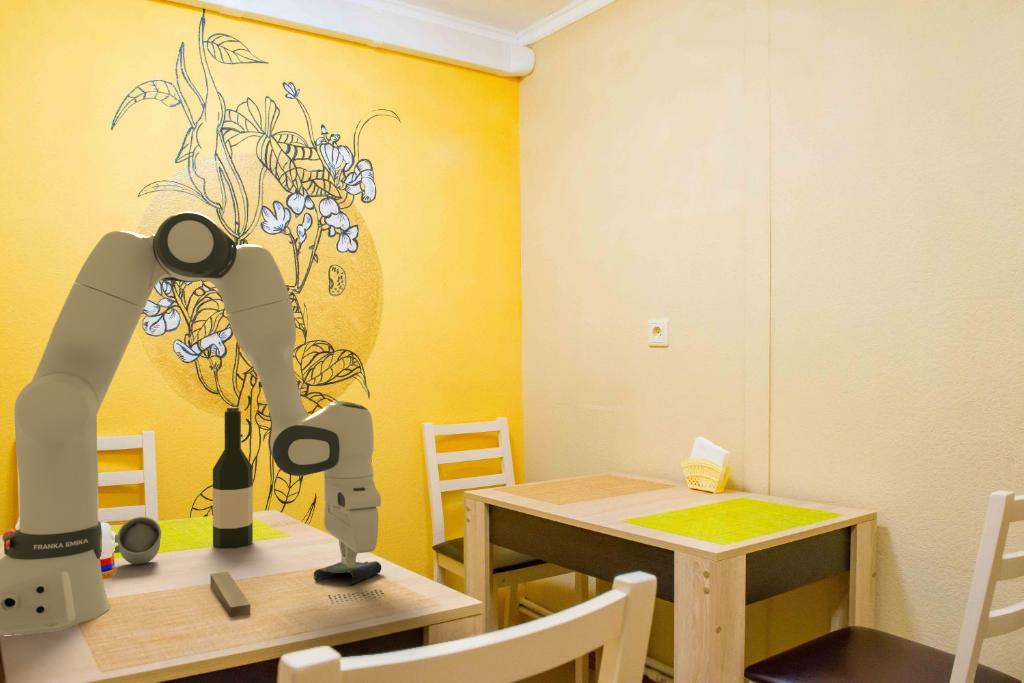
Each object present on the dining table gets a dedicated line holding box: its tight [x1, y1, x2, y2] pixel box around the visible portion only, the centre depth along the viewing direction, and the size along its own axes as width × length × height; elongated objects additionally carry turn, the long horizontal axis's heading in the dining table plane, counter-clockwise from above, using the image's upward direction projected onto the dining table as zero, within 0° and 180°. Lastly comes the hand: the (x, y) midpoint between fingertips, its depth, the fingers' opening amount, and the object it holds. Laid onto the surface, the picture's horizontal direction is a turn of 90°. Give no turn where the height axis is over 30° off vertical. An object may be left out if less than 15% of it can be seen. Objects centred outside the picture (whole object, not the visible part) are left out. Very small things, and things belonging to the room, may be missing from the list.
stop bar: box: [210, 571, 251, 618], centre depth 135 cm, size 3×20×3 cm, turn 29°
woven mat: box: [328, 589, 385, 604], centre depth 133 cm, size 10×11×2 cm
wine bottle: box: [212, 406, 254, 549], centre depth 175 cm, size 8×8×30 cm
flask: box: [313, 560, 382, 587], centre depth 148 cm, size 9×3×11 cm
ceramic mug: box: [113, 516, 162, 566], centre depth 158 cm, size 11×8×8 cm
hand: (348, 565), depth 145 cm, fingers closed
